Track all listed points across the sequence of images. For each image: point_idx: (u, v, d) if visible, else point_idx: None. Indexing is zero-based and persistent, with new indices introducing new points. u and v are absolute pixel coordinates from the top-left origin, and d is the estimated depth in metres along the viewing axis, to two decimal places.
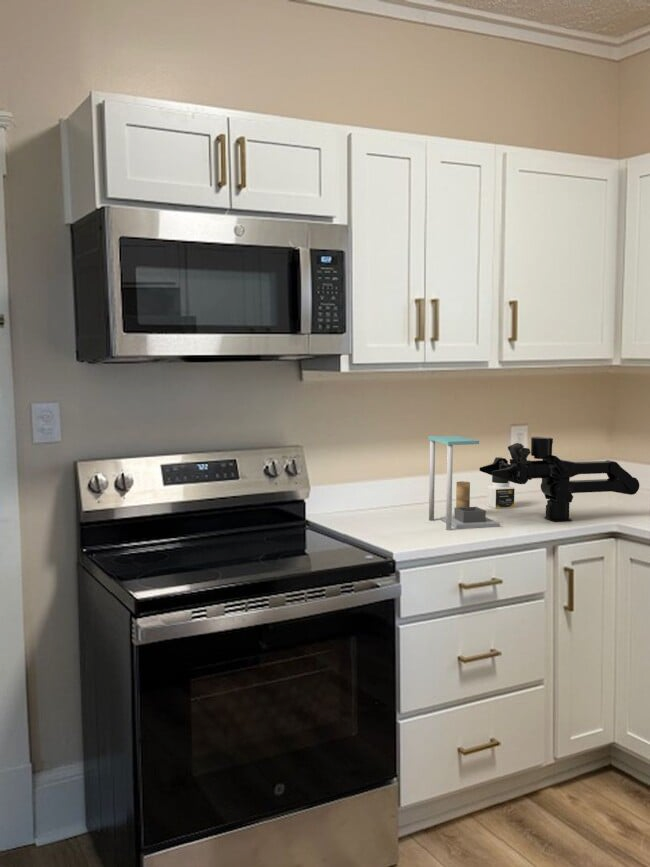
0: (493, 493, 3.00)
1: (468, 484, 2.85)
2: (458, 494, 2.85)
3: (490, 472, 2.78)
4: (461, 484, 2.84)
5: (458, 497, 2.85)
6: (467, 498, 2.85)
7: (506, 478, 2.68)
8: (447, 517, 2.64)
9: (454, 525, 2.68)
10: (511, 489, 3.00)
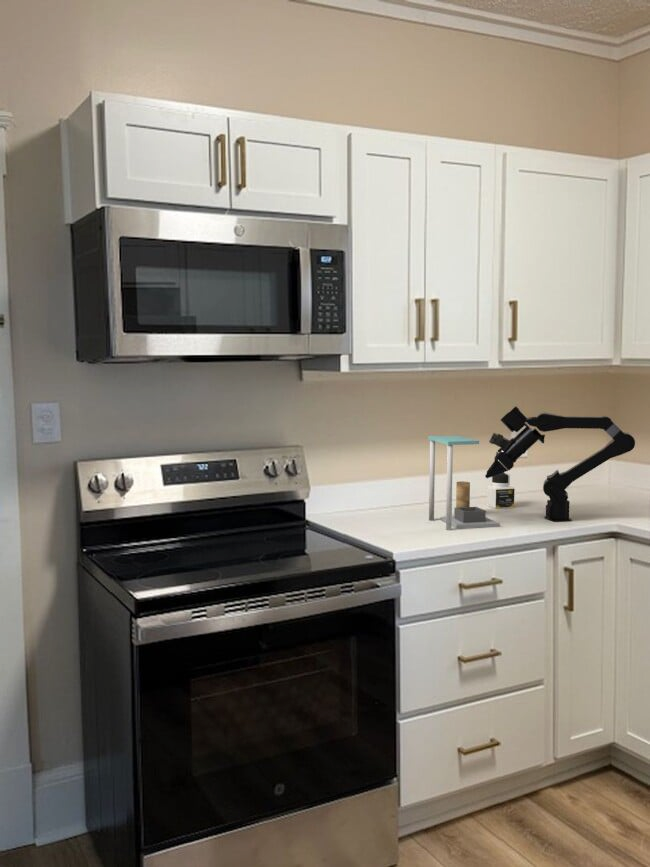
0: (493, 493, 3.00)
1: (468, 484, 2.85)
2: (458, 494, 2.85)
3: None
4: (461, 484, 2.84)
5: (458, 497, 2.85)
6: (467, 498, 2.85)
7: (498, 472, 2.77)
8: (447, 517, 2.64)
9: (454, 525, 2.68)
10: (511, 489, 3.00)
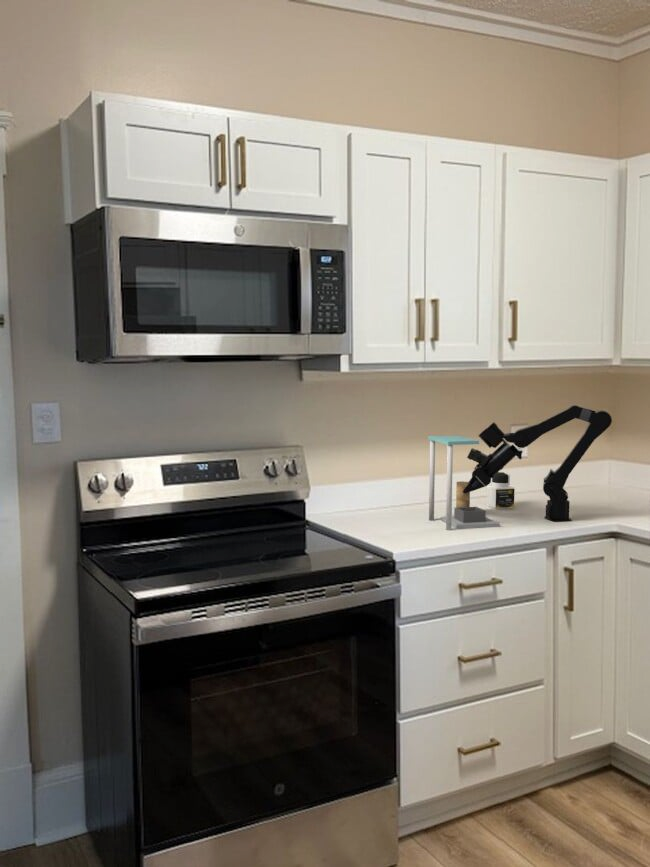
0: (493, 493, 3.00)
1: None
2: (458, 494, 2.85)
3: None
4: (461, 484, 2.84)
5: (458, 497, 2.85)
6: (467, 498, 2.85)
7: (476, 488, 2.79)
8: (447, 517, 2.64)
9: (454, 525, 2.68)
10: (511, 489, 3.00)
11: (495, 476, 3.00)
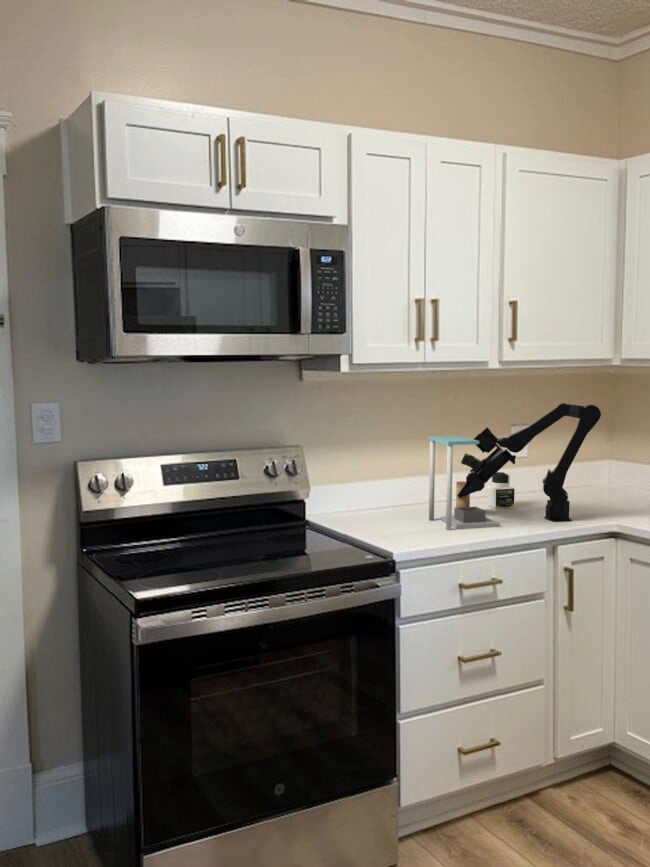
0: (493, 493, 3.00)
1: None
2: None
3: None
4: (461, 484, 2.84)
5: (458, 497, 2.85)
6: (467, 498, 2.85)
7: (470, 492, 2.82)
8: (447, 517, 2.64)
9: (454, 525, 2.68)
10: (511, 489, 3.00)
11: (495, 476, 3.00)
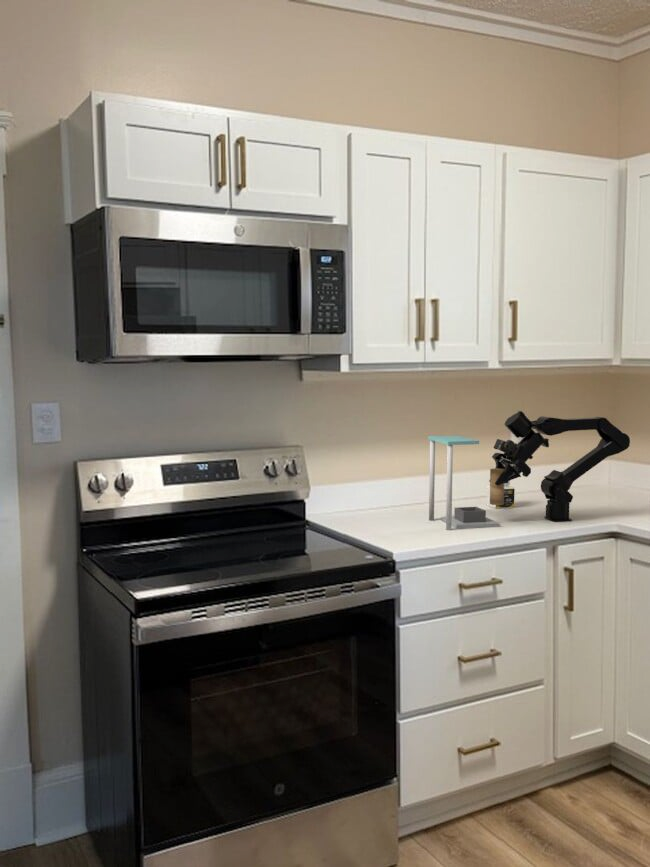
0: None
1: None
2: None
3: None
4: (498, 471, 2.72)
5: (495, 485, 2.73)
6: (503, 485, 2.74)
7: (510, 478, 2.71)
8: (447, 517, 2.64)
9: (454, 525, 2.68)
10: (511, 489, 3.00)
11: None
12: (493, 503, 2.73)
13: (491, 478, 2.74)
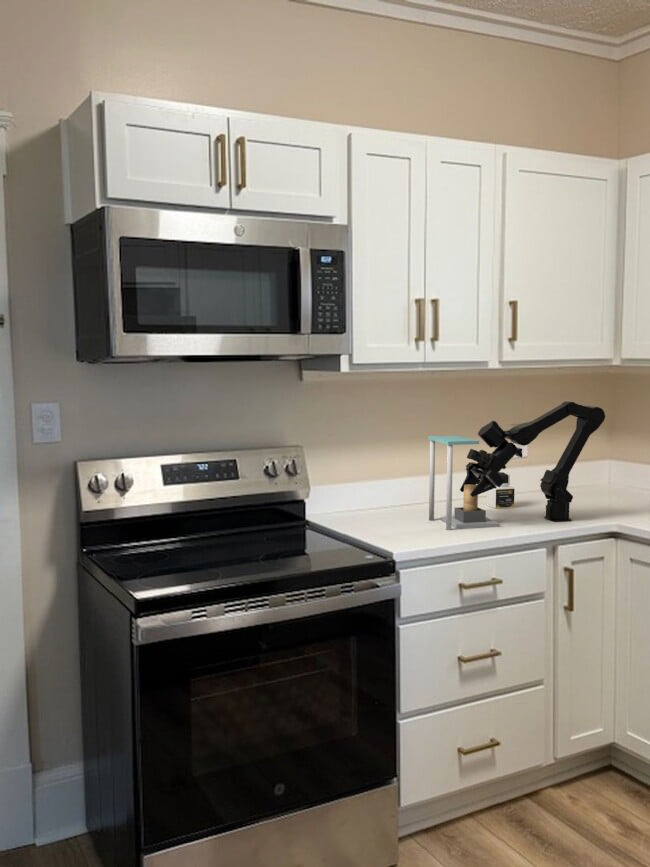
0: (493, 493, 3.00)
1: None
2: (468, 498, 2.71)
3: None
4: (472, 487, 2.71)
5: (468, 501, 2.71)
6: (477, 501, 2.72)
7: (485, 490, 2.68)
8: (447, 517, 2.64)
9: (454, 525, 2.68)
10: (511, 489, 3.00)
11: None
12: None
13: (465, 494, 2.72)
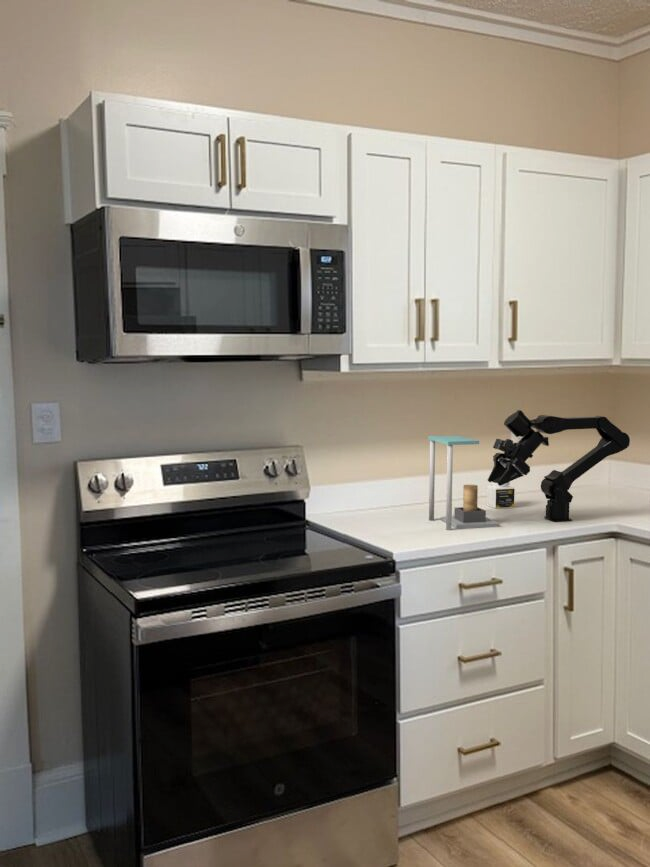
0: (493, 493, 3.00)
1: (477, 487, 2.72)
2: (468, 498, 2.71)
3: (498, 475, 2.80)
4: (471, 487, 2.71)
5: (468, 501, 2.71)
6: (476, 502, 2.72)
7: (512, 478, 2.69)
8: (447, 517, 2.64)
9: (454, 525, 2.68)
10: (511, 489, 3.00)
11: None
12: None
13: (464, 494, 2.72)
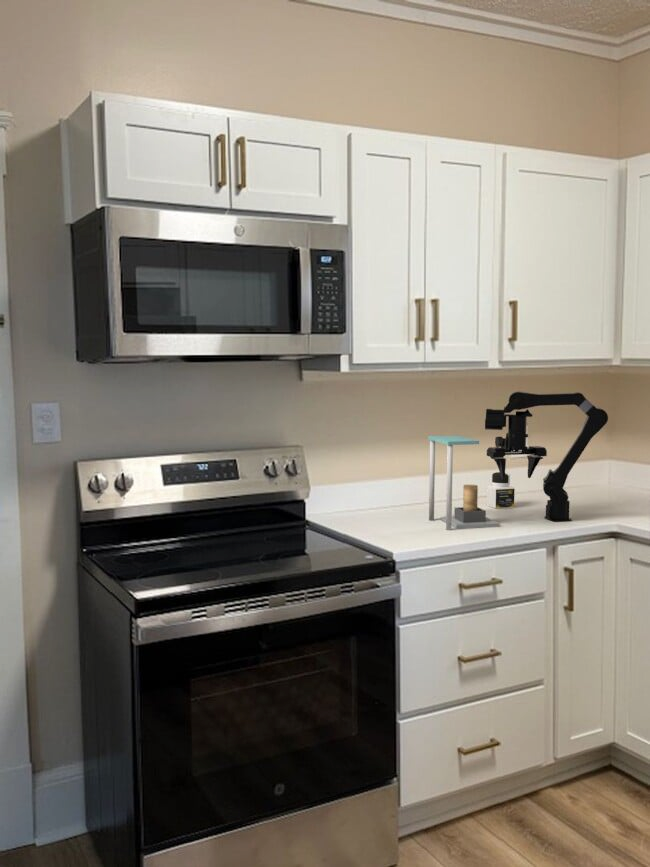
0: (493, 493, 3.00)
1: (477, 487, 2.72)
2: (468, 498, 2.71)
3: (531, 466, 2.81)
4: (471, 487, 2.71)
5: (468, 501, 2.71)
6: (476, 502, 2.72)
7: (501, 466, 2.79)
8: (447, 517, 2.64)
9: (454, 525, 2.68)
10: (511, 489, 3.00)
11: (495, 476, 3.00)
12: None
13: (464, 494, 2.72)
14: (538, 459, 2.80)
